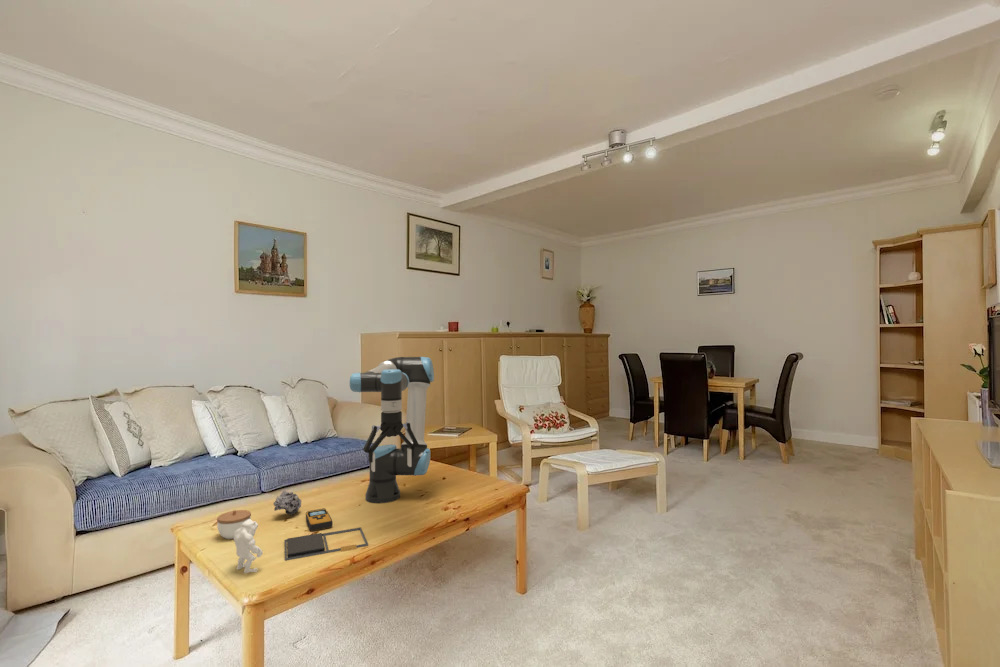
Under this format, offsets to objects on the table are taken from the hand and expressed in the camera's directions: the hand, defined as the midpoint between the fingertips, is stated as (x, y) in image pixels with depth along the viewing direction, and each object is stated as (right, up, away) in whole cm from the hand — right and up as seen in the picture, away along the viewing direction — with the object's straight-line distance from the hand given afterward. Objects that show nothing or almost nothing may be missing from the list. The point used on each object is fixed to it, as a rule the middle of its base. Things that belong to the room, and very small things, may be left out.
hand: (391, 468), depth 177 cm
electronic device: (-27, -25, +1) cm, 36 cm away
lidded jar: (-56, -24, -4) cm, 61 cm away
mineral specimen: (-45, -24, +15) cm, 53 cm away
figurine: (-38, -23, -30) cm, 53 cm away
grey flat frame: (-20, -23, -12) cm, 33 cm away
